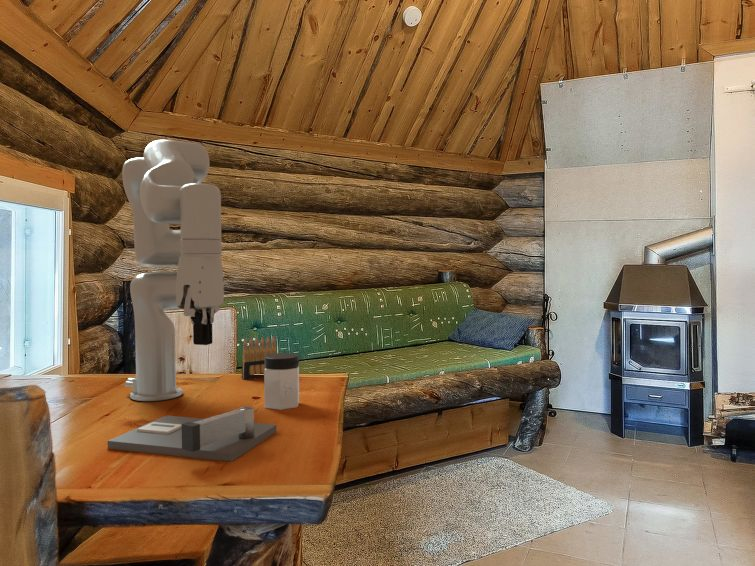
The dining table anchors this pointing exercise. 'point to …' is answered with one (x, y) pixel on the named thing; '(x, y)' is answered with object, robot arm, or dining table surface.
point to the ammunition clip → (256, 357)
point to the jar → (281, 381)
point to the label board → (168, 440)
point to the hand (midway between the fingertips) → (202, 343)
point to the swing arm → (218, 428)
